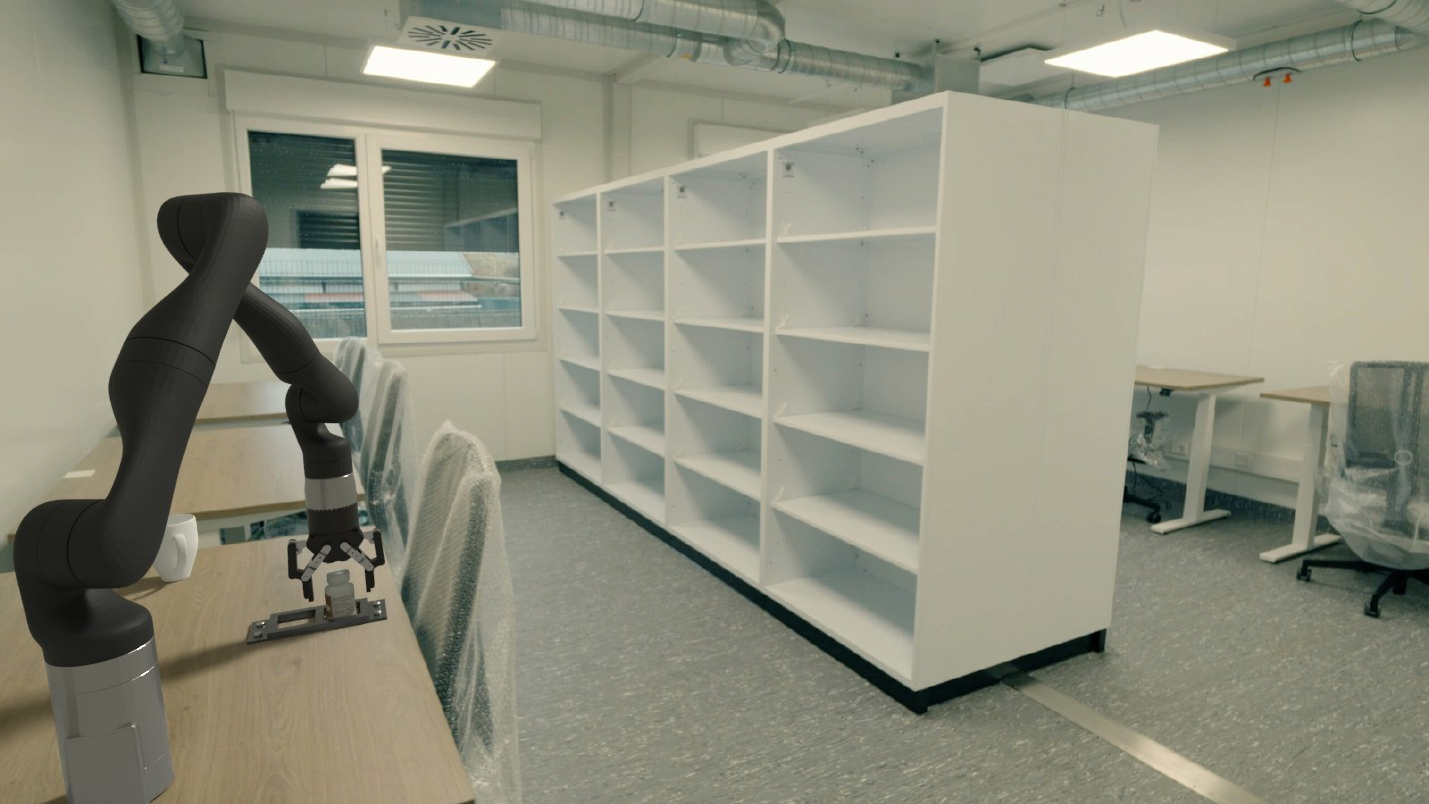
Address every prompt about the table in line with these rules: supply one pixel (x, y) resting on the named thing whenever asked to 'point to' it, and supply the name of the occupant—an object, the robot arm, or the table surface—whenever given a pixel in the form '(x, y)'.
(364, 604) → the metal frame plate
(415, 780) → the table surface
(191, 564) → the mug
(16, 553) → the robot arm
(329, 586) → the pill bottle
